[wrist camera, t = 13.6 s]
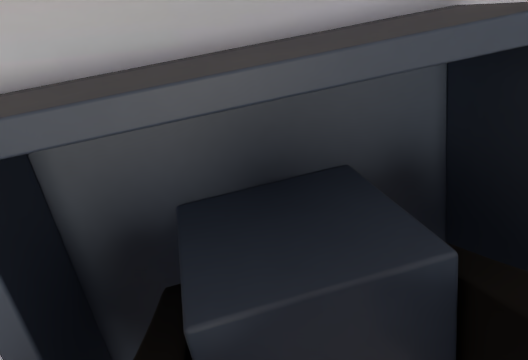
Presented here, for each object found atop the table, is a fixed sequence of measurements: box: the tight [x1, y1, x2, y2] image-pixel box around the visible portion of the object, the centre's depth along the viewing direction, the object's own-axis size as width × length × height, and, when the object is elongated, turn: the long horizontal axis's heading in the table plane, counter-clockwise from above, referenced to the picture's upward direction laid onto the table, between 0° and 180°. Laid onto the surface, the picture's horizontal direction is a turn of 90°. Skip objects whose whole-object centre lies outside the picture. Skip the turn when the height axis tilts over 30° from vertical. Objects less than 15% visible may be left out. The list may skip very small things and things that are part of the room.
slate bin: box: [0, 2, 528, 360], centre depth 10 cm, size 11×11×4 cm
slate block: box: [176, 165, 458, 360], centre depth 9 cm, size 4×4×4 cm
